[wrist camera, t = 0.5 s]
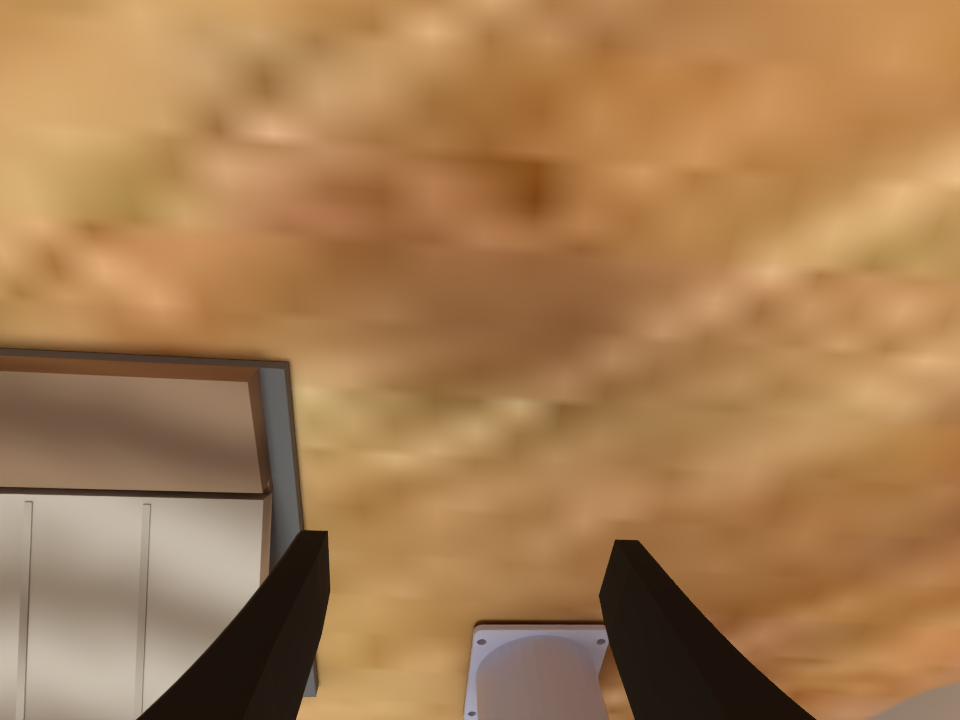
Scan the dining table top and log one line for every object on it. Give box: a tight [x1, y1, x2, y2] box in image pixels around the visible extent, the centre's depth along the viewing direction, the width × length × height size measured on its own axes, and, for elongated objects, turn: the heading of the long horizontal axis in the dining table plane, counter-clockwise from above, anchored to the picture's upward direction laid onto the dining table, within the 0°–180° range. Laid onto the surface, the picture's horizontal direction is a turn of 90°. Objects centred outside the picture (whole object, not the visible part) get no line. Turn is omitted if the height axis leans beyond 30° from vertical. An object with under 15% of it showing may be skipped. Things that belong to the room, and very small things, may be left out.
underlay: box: [0, 348, 318, 697], centre depth 24 cm, size 22×16×1 cm
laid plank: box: [0, 355, 273, 493], centre depth 20 cm, size 6×14×1 cm, turn 85°
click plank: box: [0, 487, 272, 720], centre depth 21 cm, size 10×14×1 cm
